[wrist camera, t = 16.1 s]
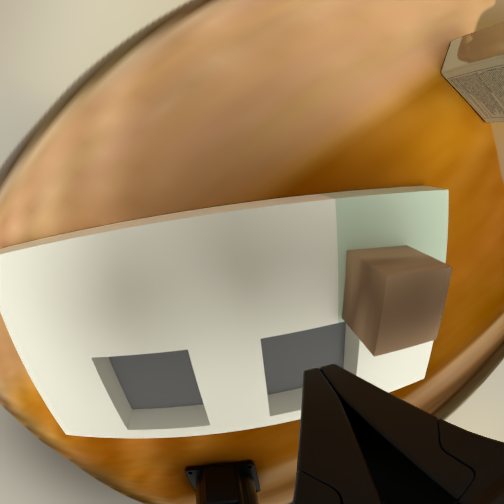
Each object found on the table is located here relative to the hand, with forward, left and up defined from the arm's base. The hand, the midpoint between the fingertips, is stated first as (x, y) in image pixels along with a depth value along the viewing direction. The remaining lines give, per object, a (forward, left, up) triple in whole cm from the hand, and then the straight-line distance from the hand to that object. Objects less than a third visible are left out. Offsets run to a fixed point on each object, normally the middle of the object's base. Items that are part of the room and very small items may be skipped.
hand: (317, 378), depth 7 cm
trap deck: (-4, +2, -11) cm, 12 cm away
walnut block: (-2, -6, -8) cm, 10 cm away
